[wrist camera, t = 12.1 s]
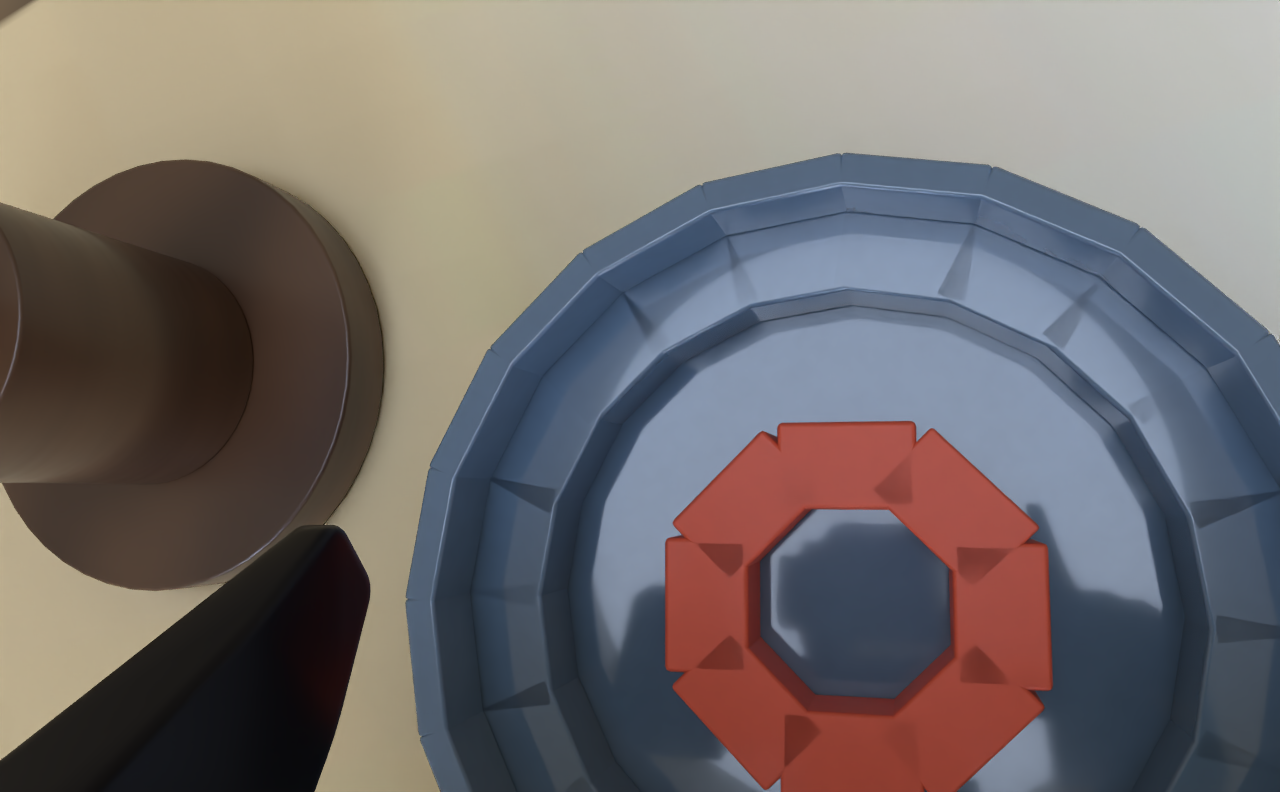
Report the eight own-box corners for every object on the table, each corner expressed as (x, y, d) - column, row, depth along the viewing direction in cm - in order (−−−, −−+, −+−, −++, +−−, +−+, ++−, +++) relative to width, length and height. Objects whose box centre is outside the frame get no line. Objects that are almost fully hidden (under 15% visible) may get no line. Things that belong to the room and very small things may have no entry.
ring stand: (456, 279, 23) (93, 110, 13) (264, 664, 23) (-240, 798, 13) (143, 117, 26) (-363, -130, 15) (-25, 464, 26) (-628, 446, 16)
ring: (1045, 795, 18) (1058, 823, 17) (682, 767, 20) (663, 791, 18) (1033, 424, 19) (1044, 419, 17) (682, 428, 21) (664, 423, 19)
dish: (1464, 429, 18) (1609, 413, 14) (1046, 1194, 18) (1080, 1371, 14) (693, 102, 22) (649, 24, 18) (375, 730, 22) (270, 777, 19)
